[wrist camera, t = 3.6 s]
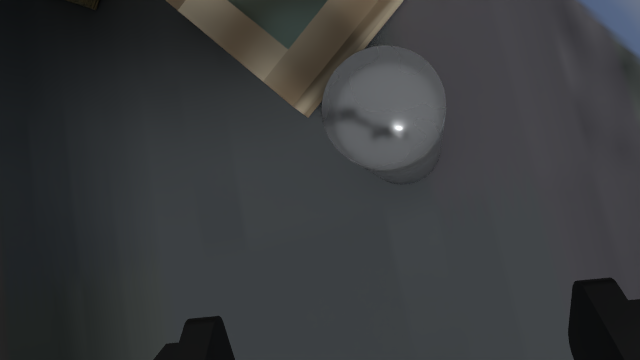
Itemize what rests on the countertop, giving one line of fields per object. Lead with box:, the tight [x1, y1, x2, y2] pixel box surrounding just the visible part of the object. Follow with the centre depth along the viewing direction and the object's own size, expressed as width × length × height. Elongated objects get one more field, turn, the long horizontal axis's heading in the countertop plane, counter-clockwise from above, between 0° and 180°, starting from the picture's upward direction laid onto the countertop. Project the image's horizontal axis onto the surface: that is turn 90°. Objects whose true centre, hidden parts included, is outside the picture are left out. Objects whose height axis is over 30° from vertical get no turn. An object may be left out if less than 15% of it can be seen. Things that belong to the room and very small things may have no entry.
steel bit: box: [322, 45, 446, 185], centre depth 24 cm, size 4×4×12 cm
